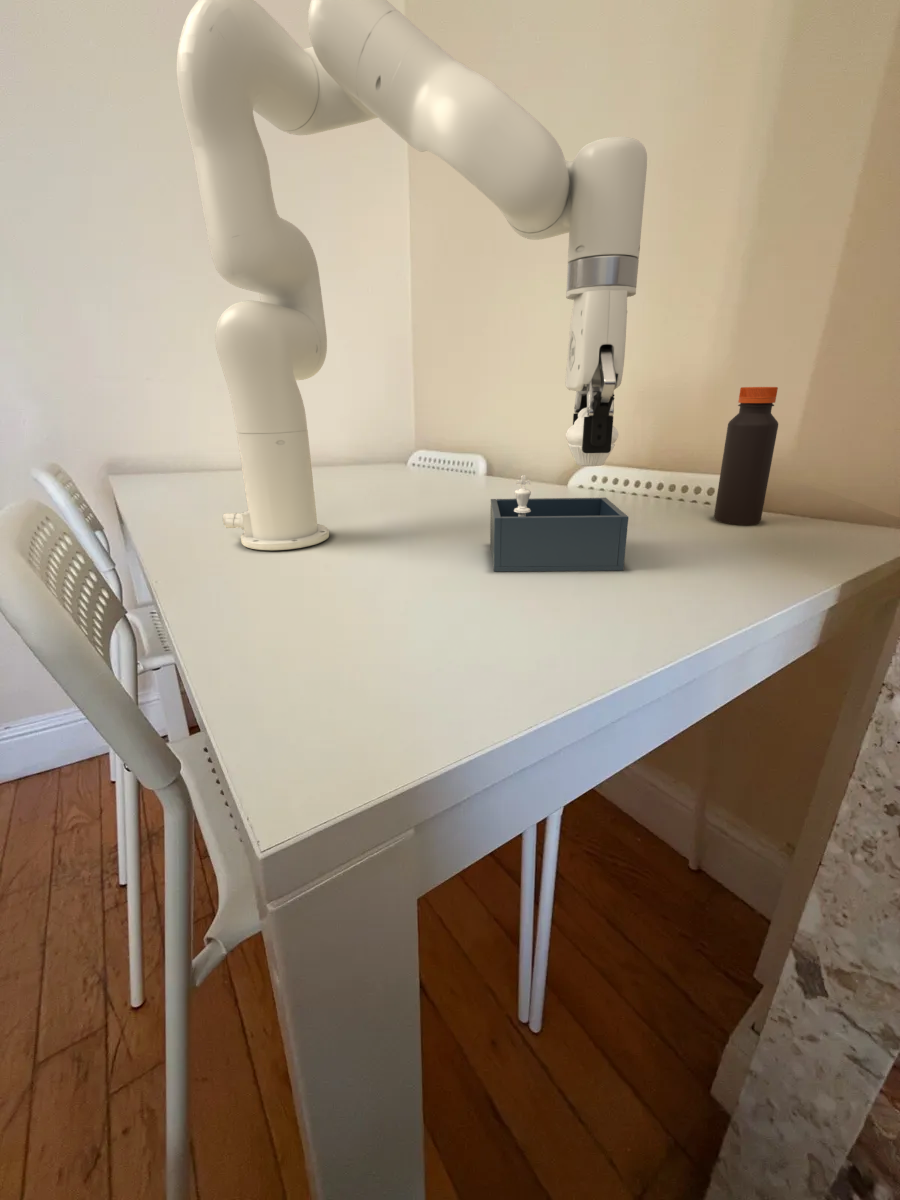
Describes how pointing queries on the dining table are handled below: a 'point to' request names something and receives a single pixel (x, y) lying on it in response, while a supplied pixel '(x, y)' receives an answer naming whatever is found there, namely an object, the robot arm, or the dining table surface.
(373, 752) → the dining table surface
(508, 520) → the bin
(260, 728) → the dining table surface
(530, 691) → the dining table surface
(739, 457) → the bottle
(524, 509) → the chess piece
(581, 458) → the muffin
